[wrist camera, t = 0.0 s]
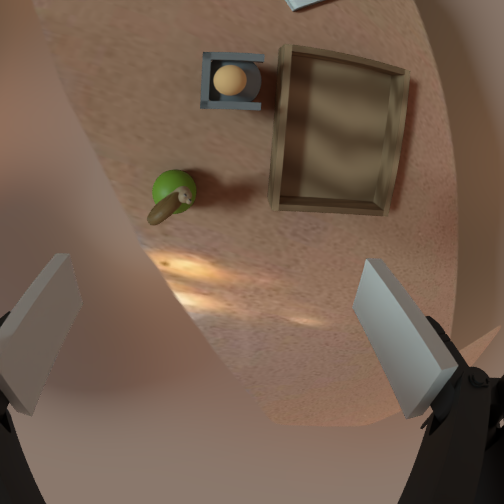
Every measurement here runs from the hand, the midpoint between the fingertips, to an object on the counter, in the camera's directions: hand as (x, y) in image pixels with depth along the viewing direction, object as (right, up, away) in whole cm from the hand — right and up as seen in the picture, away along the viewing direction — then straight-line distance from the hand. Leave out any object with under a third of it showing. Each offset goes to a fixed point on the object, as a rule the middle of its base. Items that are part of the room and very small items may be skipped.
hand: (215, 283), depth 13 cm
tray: (+12, +17, +24) cm, 32 cm away
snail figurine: (-8, +10, +26) cm, 29 cm away
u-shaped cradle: (-1, +22, +20) cm, 29 cm away
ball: (-1, +18, +13) cm, 22 cm away
